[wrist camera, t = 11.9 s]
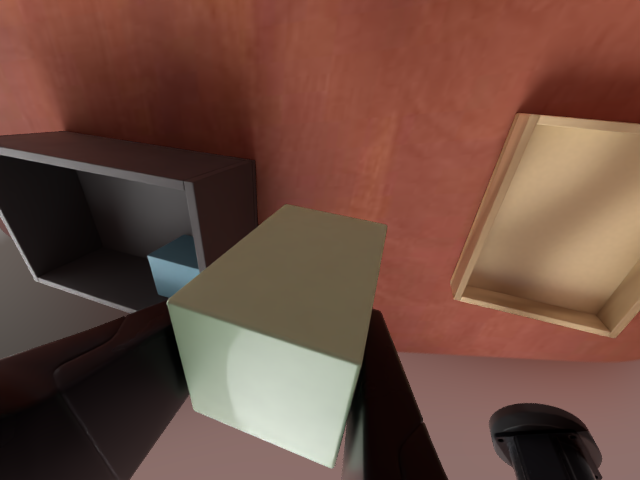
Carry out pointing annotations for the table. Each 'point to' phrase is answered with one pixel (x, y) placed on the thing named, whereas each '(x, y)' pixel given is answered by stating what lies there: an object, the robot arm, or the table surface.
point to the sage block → (282, 328)
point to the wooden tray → (559, 226)
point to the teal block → (174, 265)
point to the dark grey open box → (118, 210)
